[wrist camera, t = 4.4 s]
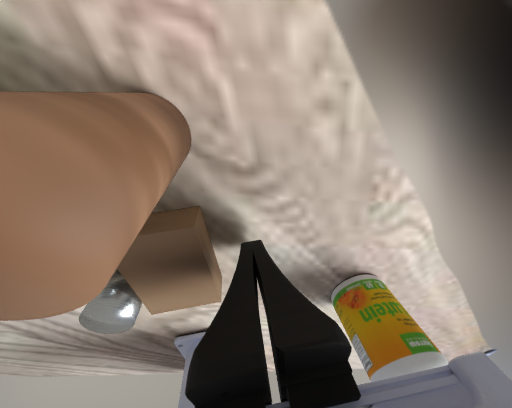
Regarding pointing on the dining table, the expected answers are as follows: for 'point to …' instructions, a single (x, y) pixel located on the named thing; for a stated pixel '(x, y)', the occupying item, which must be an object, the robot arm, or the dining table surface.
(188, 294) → the wooden block
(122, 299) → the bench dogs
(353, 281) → the supplement bottle
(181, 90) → the dining table surface
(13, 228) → the dowel
